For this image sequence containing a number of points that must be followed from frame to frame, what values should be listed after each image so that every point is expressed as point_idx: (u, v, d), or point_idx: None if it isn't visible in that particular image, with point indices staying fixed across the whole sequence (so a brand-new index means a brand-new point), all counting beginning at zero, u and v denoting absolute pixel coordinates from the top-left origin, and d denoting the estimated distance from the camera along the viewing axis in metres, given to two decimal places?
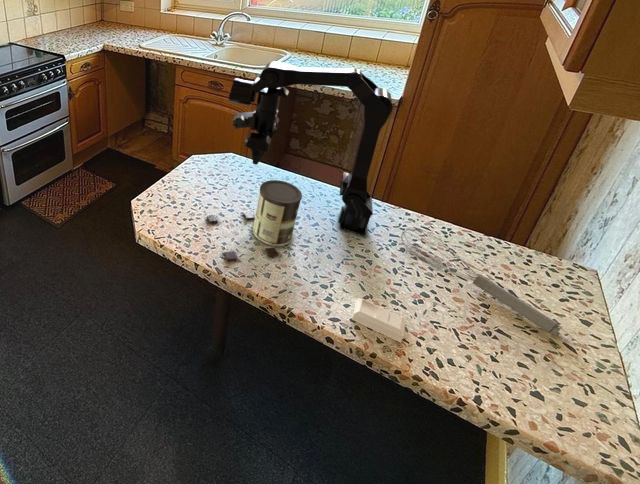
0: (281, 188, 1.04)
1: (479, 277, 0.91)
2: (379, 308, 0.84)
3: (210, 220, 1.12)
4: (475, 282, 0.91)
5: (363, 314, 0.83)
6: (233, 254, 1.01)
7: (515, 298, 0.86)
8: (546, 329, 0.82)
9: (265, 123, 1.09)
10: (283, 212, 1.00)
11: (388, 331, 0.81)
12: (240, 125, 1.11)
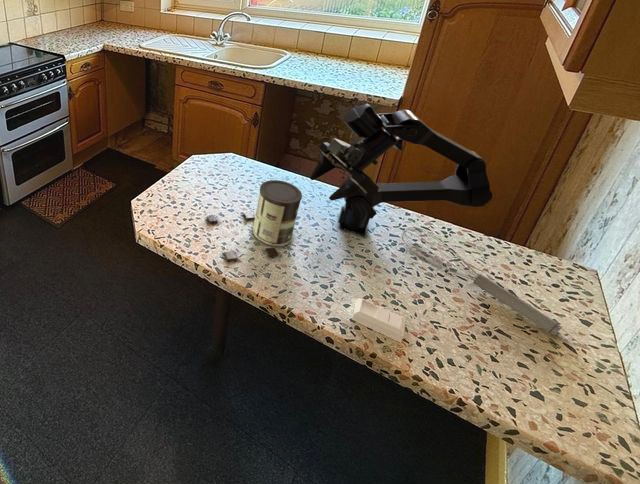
0: (281, 188, 1.04)
1: (479, 277, 0.91)
2: (379, 308, 0.84)
3: (210, 220, 1.12)
4: (475, 282, 0.91)
5: (363, 314, 0.83)
6: (233, 254, 1.01)
7: (515, 298, 0.86)
8: (546, 329, 0.82)
9: (367, 164, 0.99)
10: (283, 212, 1.00)
11: (388, 331, 0.81)
12: (353, 157, 0.96)
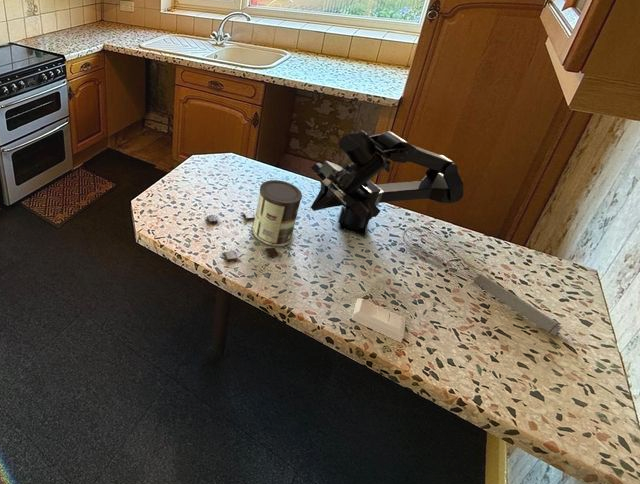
0: (281, 188, 1.04)
1: (480, 276, 0.91)
2: (379, 308, 0.84)
3: (210, 220, 1.12)
4: (476, 281, 0.92)
5: (363, 314, 0.83)
6: (233, 254, 1.01)
7: (516, 298, 0.86)
8: (546, 329, 0.82)
9: (358, 187, 1.02)
10: (283, 212, 1.00)
11: (388, 332, 0.81)
12: (344, 181, 0.98)
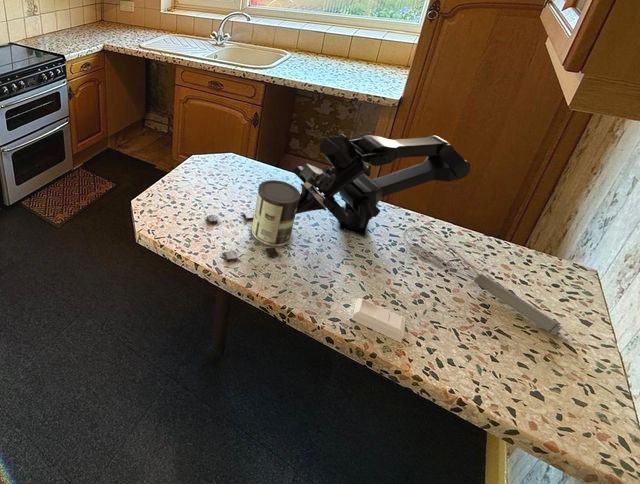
0: (279, 188, 1.04)
1: (480, 276, 0.91)
2: (379, 308, 0.84)
3: (210, 220, 1.12)
4: (476, 281, 0.92)
5: (363, 314, 0.83)
6: (233, 254, 1.01)
7: (516, 297, 0.86)
8: (546, 329, 0.82)
9: (338, 190, 1.02)
10: (281, 212, 1.00)
11: (388, 332, 0.81)
12: (324, 184, 0.98)
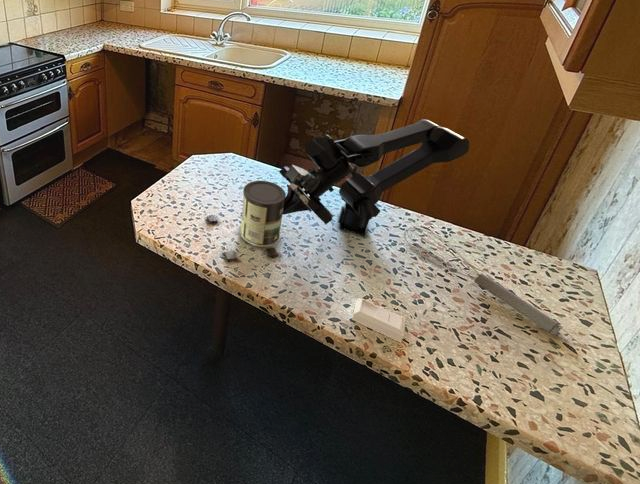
0: (265, 189, 1.03)
1: (481, 276, 0.91)
2: (379, 308, 0.84)
3: (210, 220, 1.12)
4: (476, 281, 0.92)
5: (363, 314, 0.83)
6: (233, 254, 1.01)
7: (516, 297, 0.86)
8: (546, 328, 0.82)
9: (323, 191, 1.01)
10: (266, 213, 0.99)
11: (388, 332, 0.81)
12: (309, 185, 0.98)
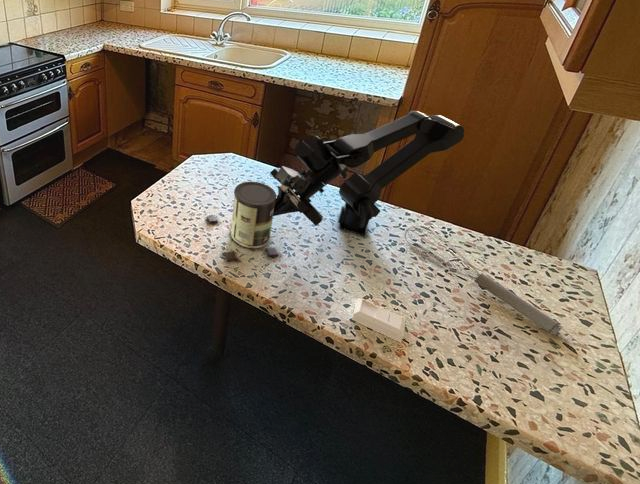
0: (256, 190, 1.03)
1: (481, 276, 0.91)
2: (379, 308, 0.84)
3: (210, 220, 1.12)
4: (477, 280, 0.92)
5: (363, 314, 0.83)
6: (233, 254, 1.01)
7: (516, 297, 0.86)
8: (546, 328, 0.82)
9: (313, 192, 1.01)
10: (256, 214, 0.99)
11: (388, 332, 0.81)
12: (298, 187, 0.97)
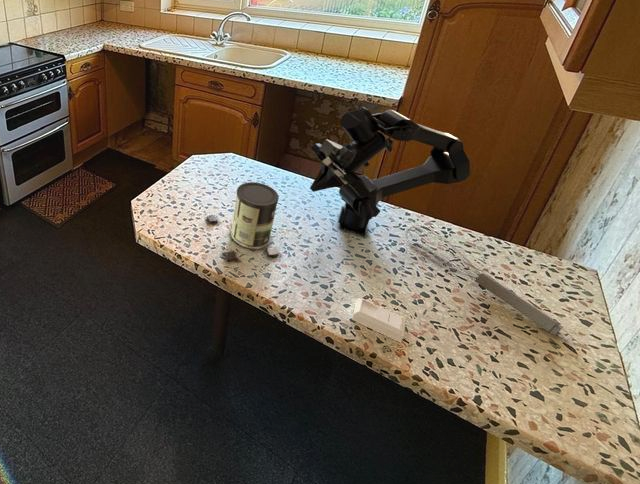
0: (258, 191, 1.03)
1: (481, 275, 0.92)
2: (379, 308, 0.84)
3: (210, 220, 1.12)
4: (477, 280, 0.92)
5: (363, 314, 0.83)
6: (233, 254, 1.01)
7: (517, 297, 0.87)
8: (546, 328, 0.82)
9: (359, 166, 0.99)
10: (258, 215, 0.99)
11: (388, 332, 0.81)
12: (345, 159, 0.95)
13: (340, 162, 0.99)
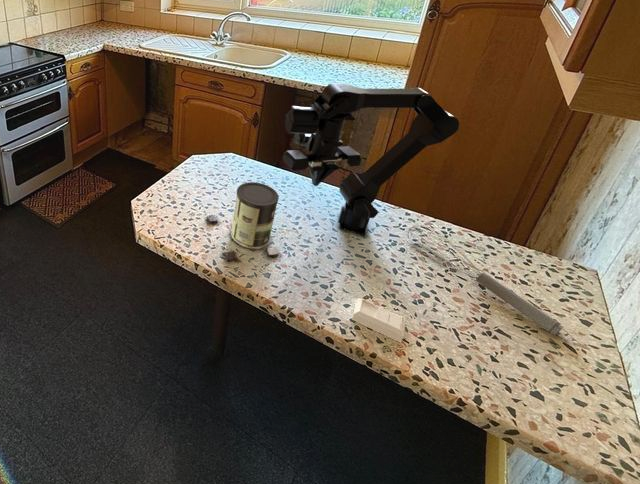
0: (258, 191, 1.03)
1: (482, 275, 0.92)
2: (379, 308, 0.84)
3: (210, 220, 1.12)
4: (478, 280, 0.92)
5: (363, 314, 0.83)
6: (233, 254, 1.01)
7: (517, 297, 0.87)
8: (546, 328, 0.82)
9: (316, 146, 1.00)
10: (258, 215, 0.99)
11: (388, 332, 0.81)
12: (297, 140, 1.07)
13: None
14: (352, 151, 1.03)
